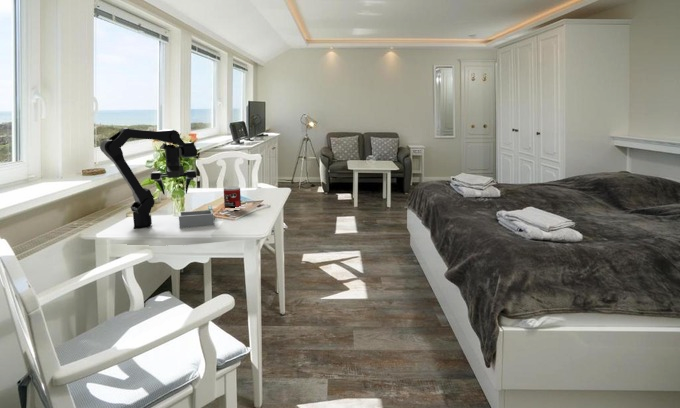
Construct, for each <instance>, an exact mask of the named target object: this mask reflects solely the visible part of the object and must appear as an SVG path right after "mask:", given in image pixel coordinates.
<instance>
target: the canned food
mask: <svg viewBox="0 0 680 408" xmlns="http://www.w3.org/2000/svg"><path fill="white" fill-rule="evenodd" d="M241 200H242V199H241V187H239V186H226V187H223V204H224V206H223V207H224V209H225V208H235V207H239V206H241V207H242V201H241Z"/></svg>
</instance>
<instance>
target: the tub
mask: <svg viewBox="0 0 680 408" xmlns="http://www.w3.org/2000/svg"><path fill="white" fill-rule="evenodd" d="M213 211H214V210H213ZM213 211H212V210H208V209H204V210H203V209H202V210H201V209H200V210H190V211H189V210H188V211H187V210H186V211H178V223H179V224H178V225H179V229H186V228H188V229H189V228H197V227H211V226H215V220H214V217H215V215H213V214H214V212H213Z"/></svg>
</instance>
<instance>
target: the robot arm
mask: <svg viewBox="0 0 680 408" xmlns="http://www.w3.org/2000/svg"><path fill="white" fill-rule="evenodd" d="M130 139H140V140H141V139H142V140H156V141H159V142H162V145H161V146H159V149H160V150H164V154H165V155H164V156H165V165H166V166H165V167H166V168H165V170H166V171H165V172H164V173H162V171H152V172H151V173H150V180H152V181H153V180H154V182H156V183H157V184H158V186H159V187H160V190H161V193H162V195H163V196H165V193H166V191H165V188H164V183H163V179H162V178H168V179H175V178H176V179H178V178H181V177H185V194H188V190H189V187H190V183H191V181H193V180H194V178H195V179H196V178H197V171H196V170H195V169H188V170H187V169H186V171H185V169H184V165H181V162H180V161H181V160H180V157H181V158H182V159H189V158H196V157H198V150H197V146H196V145H195V141H189V142H184V140H183V139H182V138H181V136H180V132H178V131H177V130H175V129H160V130H147V129H146V130H145V129H133V128H128V127H122V128H121V129H120V130H118V132H116V133H115V134H113V135H112V136H110V137H109V138H108V139H104V140H102V141H101V143H100V146H99V149H100V151H101V152H102V153H103V154H104V155H105V156H106V157H107V158H108V159H109V160H110V161H111V162H112V163H113V164H114V166H115V168H117V170H118V172H119V174H120V175H121V177H122V178H123V180H124V181H125V182H126V184H127V186H129V188H130V190H131V192H132V196H133V200H134V202H133V203H132V204H131V206H130V207H129V208H130V209H131V212H132V217H133V229H141V228H144V229H145V228H151V226H152V224H153V223H152V222H153V221H152V214H151V211H152V209H153V207H154V206H155V202H156V201H155V199H154V198H155V196H154V195H153V193H152V192H151V190H150V189H149V188H146V187H143V186H142V185H141V183H140V181H139V180H138V179H137V176H136V175H135V174H134V172H133V171H132V168H131V167H130V166H129V163H127V161H126V160H125V158H124V154H123V153H124V152H123V150H122V147H123V146H124V145H126V144H127V142H128V140H130ZM167 143H168V144H167ZM175 145H177V146H175Z"/></svg>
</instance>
